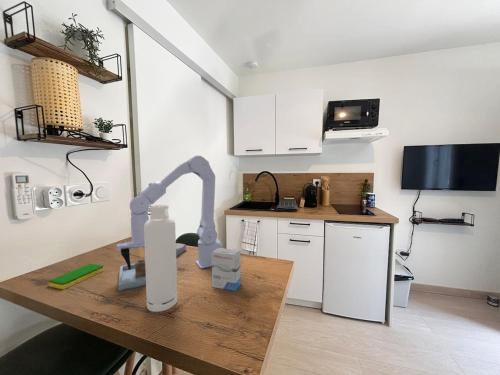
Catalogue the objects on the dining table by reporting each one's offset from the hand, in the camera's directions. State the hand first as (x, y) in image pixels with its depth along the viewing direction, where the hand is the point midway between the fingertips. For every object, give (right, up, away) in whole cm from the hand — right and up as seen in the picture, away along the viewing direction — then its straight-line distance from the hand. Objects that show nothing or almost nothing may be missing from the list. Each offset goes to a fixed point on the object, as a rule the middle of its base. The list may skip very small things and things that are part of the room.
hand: (141, 266), depth 76 cm
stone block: (+2, -3, +22) cm, 22 cm away
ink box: (+32, -4, -7) cm, 33 cm away
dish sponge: (-22, -4, -1) cm, 23 cm away
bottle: (+14, -5, -16) cm, 22 cm away
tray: (0, -3, 0) cm, 3 cm away
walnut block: (0, -3, 0) cm, 3 cm away
